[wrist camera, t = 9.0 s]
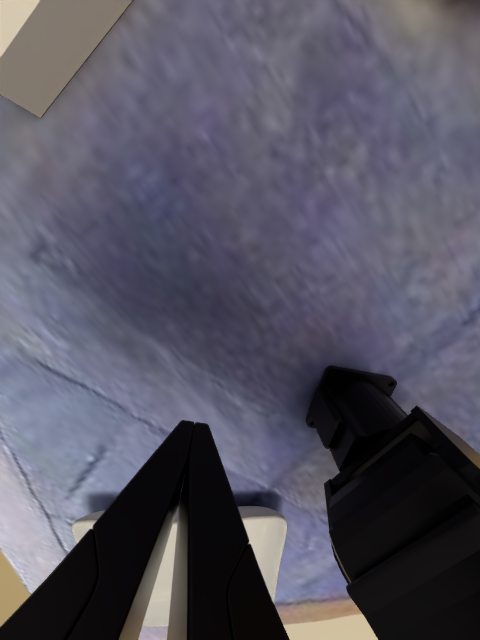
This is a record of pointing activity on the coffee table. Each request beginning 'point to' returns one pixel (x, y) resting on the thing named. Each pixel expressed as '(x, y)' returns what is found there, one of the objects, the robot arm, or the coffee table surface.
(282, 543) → the salad plate
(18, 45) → the rocker switch base
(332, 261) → the coffee table surface
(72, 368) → the coffee table surface
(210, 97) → the coffee table surface
